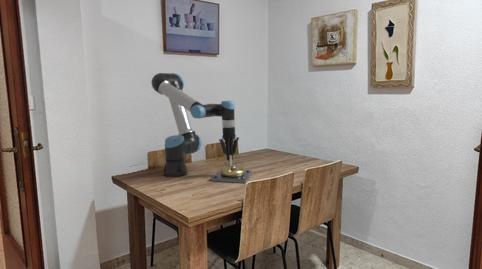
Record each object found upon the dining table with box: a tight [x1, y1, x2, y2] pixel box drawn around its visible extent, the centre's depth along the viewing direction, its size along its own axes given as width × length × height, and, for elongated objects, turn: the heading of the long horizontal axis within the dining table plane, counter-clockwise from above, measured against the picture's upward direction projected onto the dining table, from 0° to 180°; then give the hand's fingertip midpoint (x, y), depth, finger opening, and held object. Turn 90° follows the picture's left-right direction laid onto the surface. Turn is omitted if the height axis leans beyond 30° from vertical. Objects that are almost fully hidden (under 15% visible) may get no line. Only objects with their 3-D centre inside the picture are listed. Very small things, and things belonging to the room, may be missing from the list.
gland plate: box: [210, 169, 253, 184], centre depth 203 cm, size 20×20×3 cm
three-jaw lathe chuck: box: [220, 161, 245, 177], centre depth 202 cm, size 14×14×6 cm
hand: (230, 165), depth 208 cm, fingers closed
